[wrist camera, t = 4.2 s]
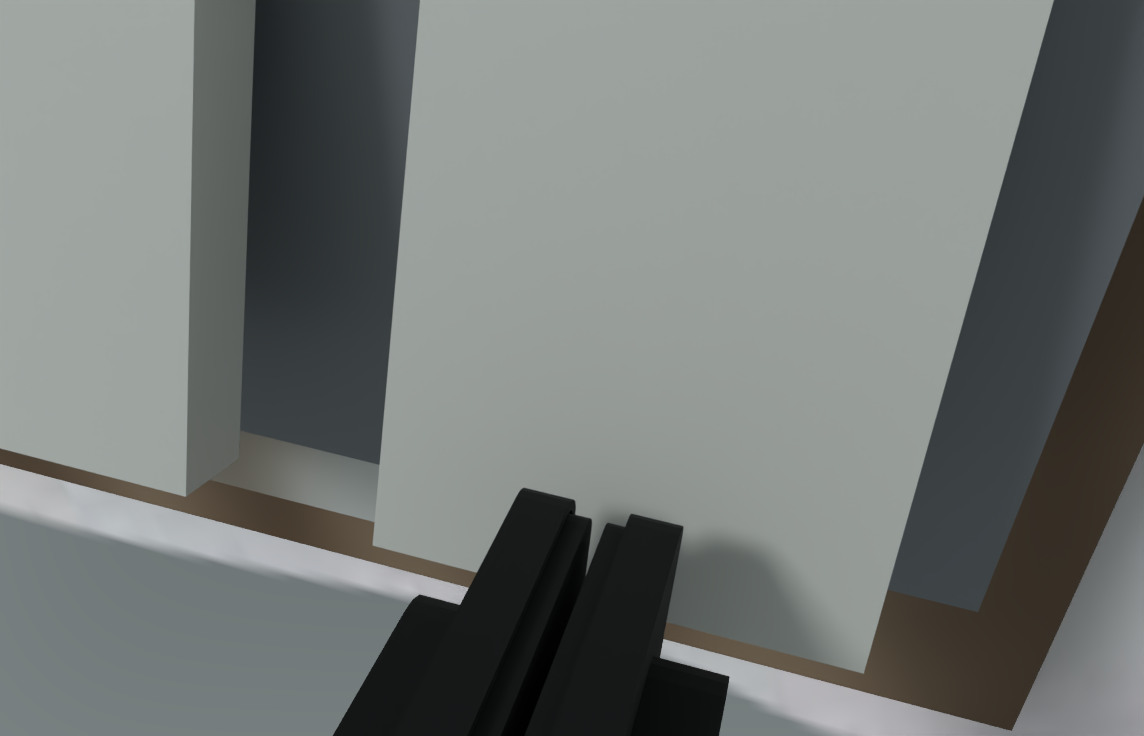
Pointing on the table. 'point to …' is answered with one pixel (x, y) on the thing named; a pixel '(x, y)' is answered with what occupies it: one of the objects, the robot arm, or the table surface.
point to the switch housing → (986, 341)
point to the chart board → (907, 623)
